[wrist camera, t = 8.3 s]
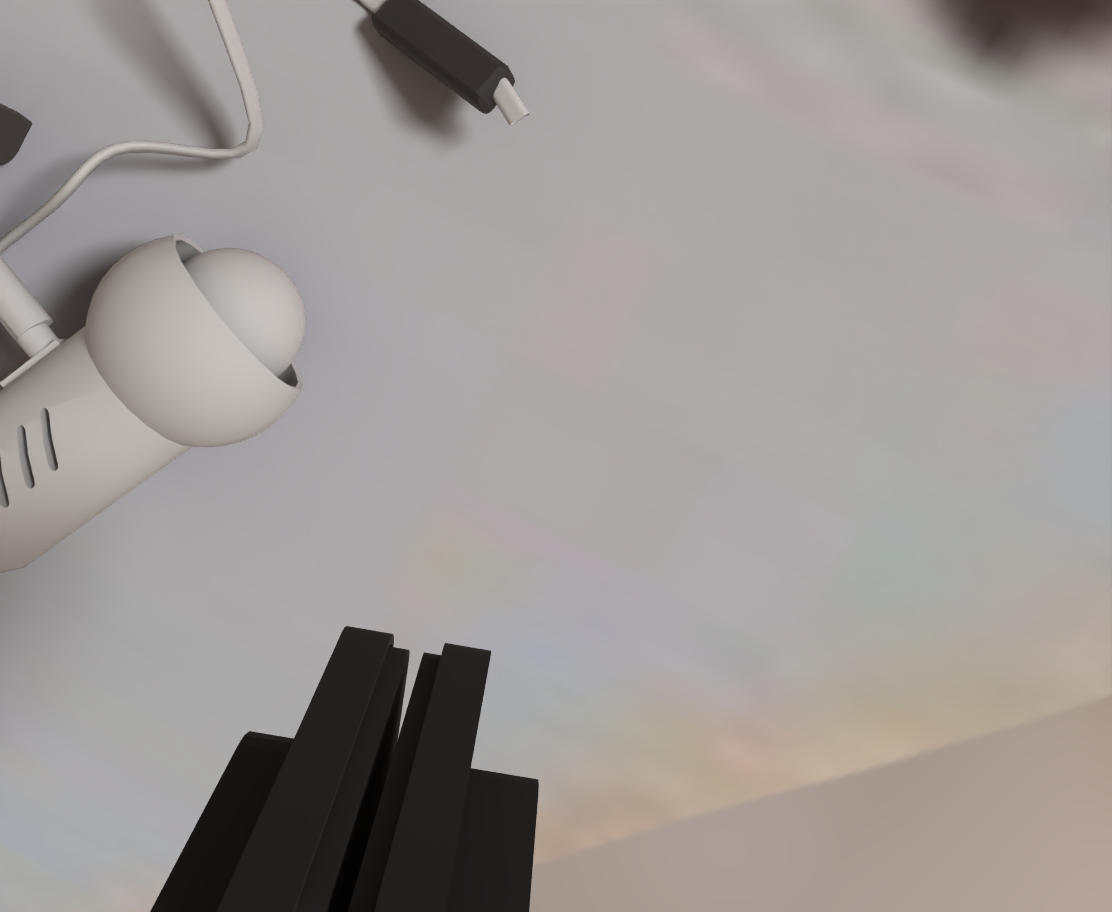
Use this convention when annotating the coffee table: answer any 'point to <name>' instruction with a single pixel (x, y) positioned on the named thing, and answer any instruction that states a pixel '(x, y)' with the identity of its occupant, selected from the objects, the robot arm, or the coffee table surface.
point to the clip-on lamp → (171, 325)
